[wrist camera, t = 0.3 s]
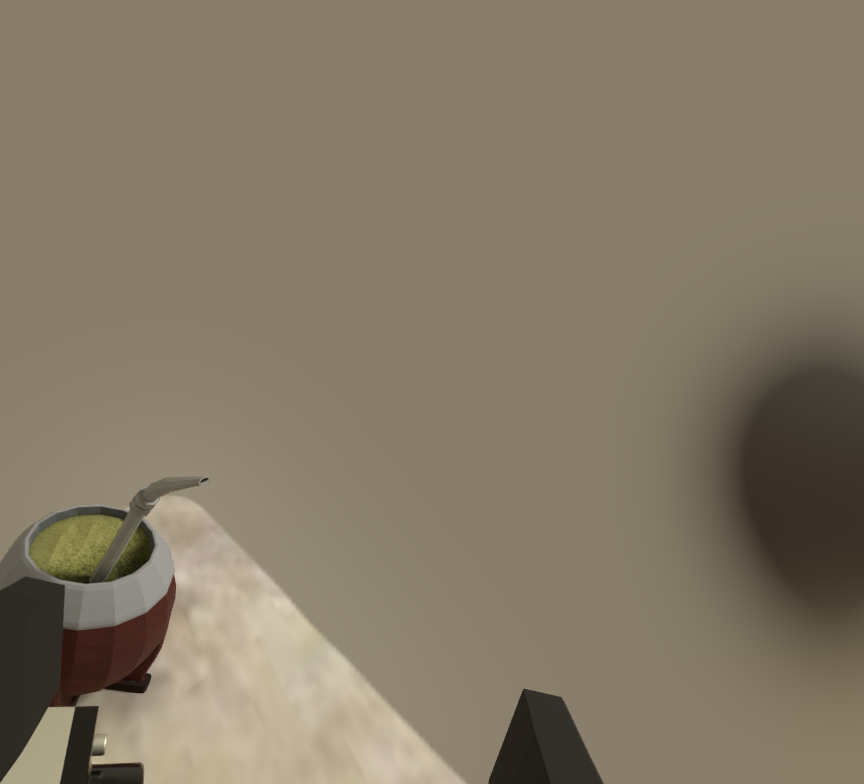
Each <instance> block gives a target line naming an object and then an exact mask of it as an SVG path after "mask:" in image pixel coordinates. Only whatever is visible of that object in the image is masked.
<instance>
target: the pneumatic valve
mask: <svg viewBox="0 0 864 784" xmlns="http://www.w3.org/2000/svg"><path fill="white" fill-rule="evenodd" d="M98 707H99V706H84V707H76V708H75V707H48V709H47V710H46V712H45V714H44V716H43V718H42V719H41V721H40V723H39V725H38V726H37V728H36V730H35V731H34V733H33V735H32V737H31V738H30V740H29V742H28V743H27V745H26V747H25V748H24V750H23V752H22V753H21V755H20V756H19V757H18V759H17V760H16V762H15V763H14V765H13V766H12V767H11V769H10V770H9V772H8V773H7V774H6V776H5V777H4V778H3V780H2V781H1V783H0V784H143V783H144V765H143V763H140V762H139V763H116V764H92V763H91V758H92V756H101V755H104V754H105V750H106V743H107V736H108V735H107V734H95V729H96V722H97V715H98ZM94 737H95V738H94Z"/></svg>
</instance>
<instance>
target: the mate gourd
mask: <svg viewBox="0 0 864 784" xmlns="http://www.w3.org/2000/svg"><path fill="white" fill-rule="evenodd" d="M209 480H210V477H209V476H190V477H173V478H164V479H162V480H159V481H157V482H154V483H151V484H150V485H149V486H143V487H142V489H141V490H140V491H139V492H138V493H137V494H136V495H135V497H134V498H133V500H132V501H131V502H130V504H129V506H130V511H129V510H127V509H123V508H117V507H112V506H106V505H81V506H73V507H70V508H66V509H63V510H59V511H56V512H52V513H50V514H49V515H47V516H46V517H44V518H42V519H41V520H39V521H38V522H36V523H34V524H33V525H31V526H30V527H29V528H28V529H26V530H25V531H24V532H23V533H22V534H21V535H20V536H19V537H18V538H17V539H16V541H15V542H14V543H13V545H12V546H11V548H10V549H9V551H8V552H7V553H6V555H5V556H4V558H3V559H2V561H1V562H0V590H2V589H4V588H6V587H7V586H9V585H11V584H13V583H15V582H16V581H18V580H20V579H22V578H23V577H25V576H27V577H31V578H35V579H40V580H44V581H49V582H53V583H58V584H62V585H65V599H64V619H63V639H62V659H61V679H60V687H59V689H58V691H57V693H56V694H55V696H54V698H53V700H52V701H51V703H50V705H49V707H75V705H76V703H77V700H78V698H79V696H80V695H81V694H86V693H91V692H96V691H99V690H101V689H103V688H106V689H113V690H120V691H127V692H136V693H144V692H145V691H146V690H147V687H148V685H149V682H150V680H151V674H148V673H146V672H147V671H148V669H149V668H150V666H151V665H152V663H153V662H154V660H155V658H156V657H157V655H158V653H159V651H160V650H161V648H162V645H163V641H164V638H165V635H166V632H167V628H168V624H169V619H170V615H171V611H172V608H173V604H174V601H175V594H176V583H175V577H174V572H175V569H174V564H173V560H172V556H171V551H170V548H169V546H168V545H167V543H166V541H165V540H164V539H163V538H162V536H161V535H160V534H159V533H158V532H157V531H156V530H155V529H154V528H153V526H152V525H151V524H150V523H149V522H148V521H147V520H146V519H145V518H143V517H144V516H147V515H148V514H149V512H150V511H151V510H152V509H153V507H154V506H155V505H156V504H157V502H158V501H159V500H160V497H161V496H163V495H165V494H167V493H169V492H172V491H177V490H181V489H185V488H190V487H194V486H199V485H203V484H205V483H207V482H209Z"/></svg>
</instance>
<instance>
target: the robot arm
mask: <svg viewBox="0 0 864 784" xmlns="http://www.w3.org/2000/svg"><path fill="white" fill-rule="evenodd" d="M64 599H65V585H62V584H58V583H53V582H49V581H44V580H40V579H35V578H31V577H27V576H25V577H23V578H22V579H20V580H18V581H16V582H15V583H13V584H11V585H9V586H7V587H6V588H4V589H2V590H0V783H1V781H2V780H3V778H4V777H5V776H6V774H7V773H8V772H9V770H10V769H11V767H12V766H13V765H14V763H15V762H16V760H17V759H18V757H19V756H20V755H21V753H22V752H23V750H24V748H25V747H26V745H27V743H28V742H29V740H30V738H31V737H32V735H33V733H34V731H35V730H36V728H37V726H38V725H39V723H40V721H41V719H42V718H43V716H44V714H45V712H46V710H47V709H48V707H49V705H50V703H51V701H52V700H53V698H54V696H55V694H56V693H57V691H58V689H59V687H60V679H61V659H62V639H63V619H64ZM489 784H604V783H603V781H602V779H601V777H600V775H599V773H598V771H597V769H596V767H595V765H594V763H593V761H592V759H591V757H590V755H589V753H588V751H587V749H586V747H585V744H584V742H583V740H582V738H581V736H580V734H579V732H578V730H577V728H576V725H575V723H574V721H573V719H572V717H571V715H570V713H569V710H568V709H567V706H566V704H565V702H564V701H563V699H562V698H561V697H558V696H554V695H549V694H544V693H541V692H536V691H532V690H527V689H523V691H522V694H521V697H520V699H519V702H518V705H517V707H516V710H515V713H514V716H513V718H512V720H511V723H510V726H509V728H508V731H507V734H506V736H505V739H504V742H503V744H502V747H501V750H500V752H499V755H498V757H497V760H496V763H495V765H494V768H493V771H492V773H491V776H490V778H489Z"/></svg>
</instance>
